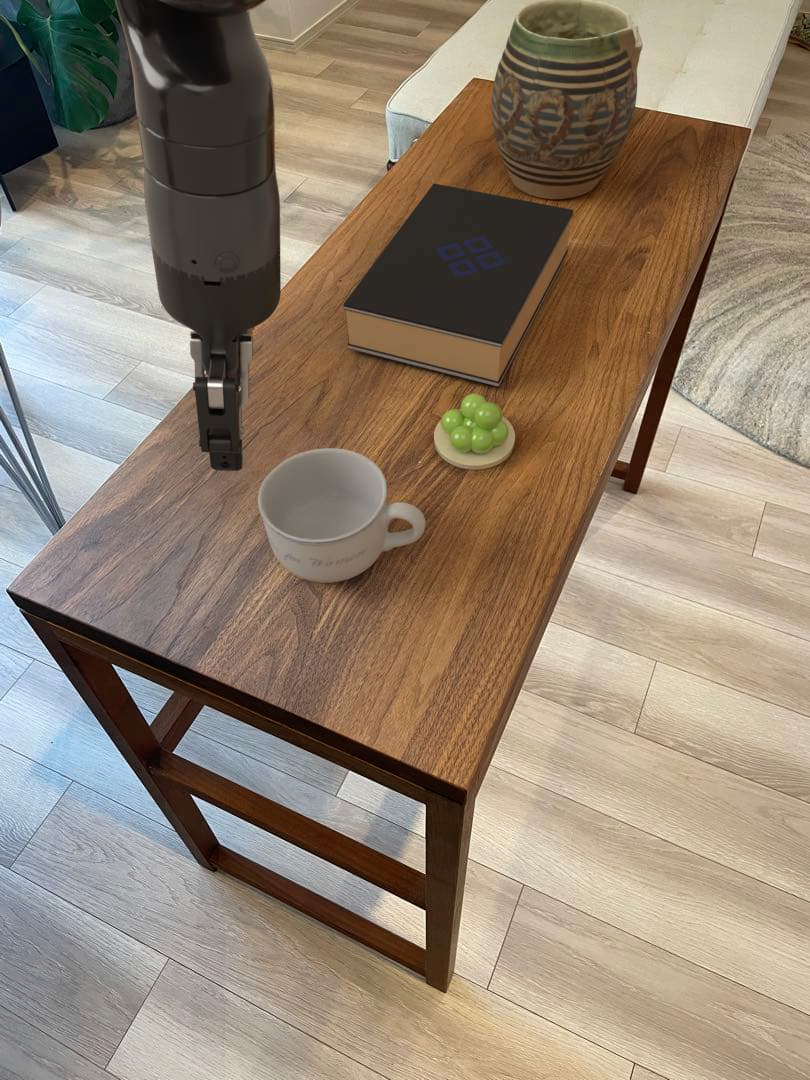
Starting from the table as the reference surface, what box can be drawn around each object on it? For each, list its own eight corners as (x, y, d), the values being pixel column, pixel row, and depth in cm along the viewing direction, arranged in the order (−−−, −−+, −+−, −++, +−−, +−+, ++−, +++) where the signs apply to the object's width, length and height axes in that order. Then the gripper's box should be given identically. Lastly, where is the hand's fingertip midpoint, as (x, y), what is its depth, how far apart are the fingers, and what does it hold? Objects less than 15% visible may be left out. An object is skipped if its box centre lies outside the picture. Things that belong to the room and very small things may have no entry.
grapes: (446, 477, 79) (446, 437, 75) (424, 420, 84) (423, 380, 80) (525, 460, 80) (530, 420, 76) (500, 405, 85) (503, 364, 81)
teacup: (250, 573, 73) (231, 516, 67) (310, 488, 79) (298, 428, 73) (391, 629, 69) (386, 573, 63) (444, 535, 75) (444, 476, 69)
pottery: (466, 194, 110) (470, 29, 94) (520, 134, 119) (532, -26, 103) (592, 227, 104) (619, 56, 88) (640, 162, 113) (672, -4, 97)
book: (348, 354, 91) (342, 303, 86) (433, 232, 105) (433, 182, 99) (498, 393, 86) (501, 342, 81) (567, 260, 100) (574, 209, 95)
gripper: (162, 160, 52) (186, 355, 65) (135, 308, 44) (169, 497, 57) (282, 169, 53) (283, 359, 66) (277, 315, 45) (279, 499, 58)
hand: (230, 423), depth 62 cm, fingers open, 8 cm apart
